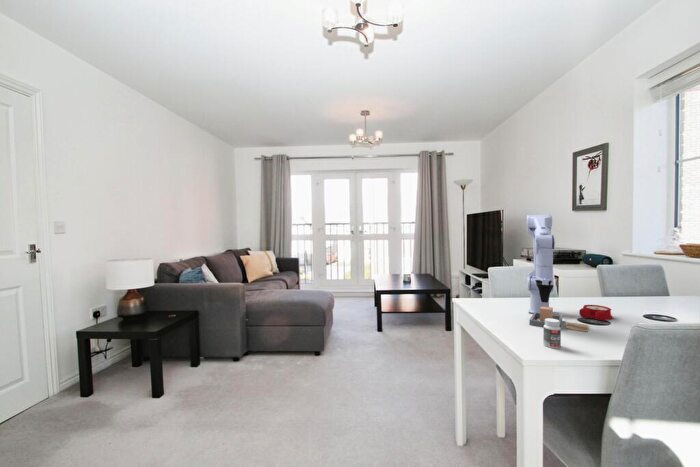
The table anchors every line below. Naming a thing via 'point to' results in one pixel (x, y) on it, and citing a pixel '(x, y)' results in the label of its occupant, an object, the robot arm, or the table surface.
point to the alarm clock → (596, 312)
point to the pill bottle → (552, 333)
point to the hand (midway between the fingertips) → (543, 300)
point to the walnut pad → (576, 327)
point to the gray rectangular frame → (542, 323)
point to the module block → (546, 313)
